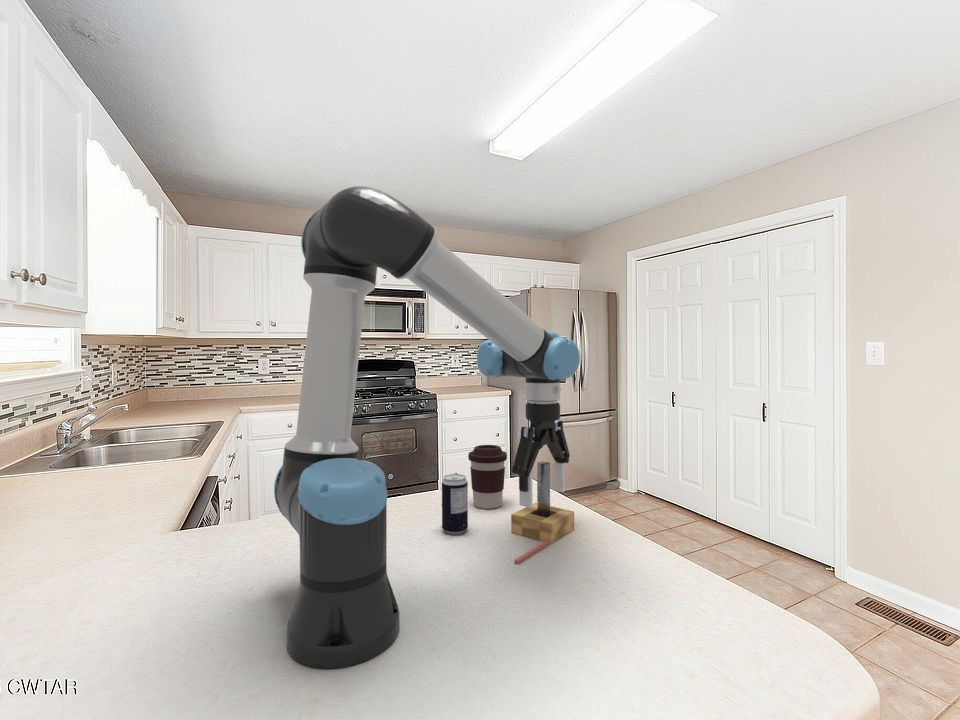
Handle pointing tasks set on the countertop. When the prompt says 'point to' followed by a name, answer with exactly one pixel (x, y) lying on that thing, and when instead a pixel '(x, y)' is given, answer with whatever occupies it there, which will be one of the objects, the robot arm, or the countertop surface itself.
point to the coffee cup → (487, 475)
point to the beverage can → (454, 504)
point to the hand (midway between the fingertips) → (542, 498)
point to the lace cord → (532, 552)
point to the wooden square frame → (542, 523)
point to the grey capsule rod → (543, 489)
